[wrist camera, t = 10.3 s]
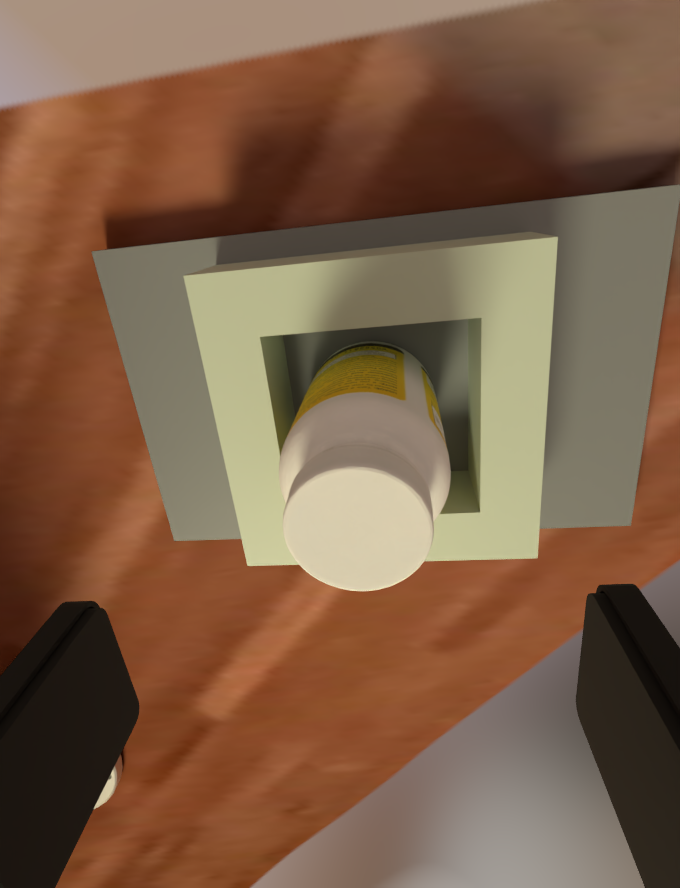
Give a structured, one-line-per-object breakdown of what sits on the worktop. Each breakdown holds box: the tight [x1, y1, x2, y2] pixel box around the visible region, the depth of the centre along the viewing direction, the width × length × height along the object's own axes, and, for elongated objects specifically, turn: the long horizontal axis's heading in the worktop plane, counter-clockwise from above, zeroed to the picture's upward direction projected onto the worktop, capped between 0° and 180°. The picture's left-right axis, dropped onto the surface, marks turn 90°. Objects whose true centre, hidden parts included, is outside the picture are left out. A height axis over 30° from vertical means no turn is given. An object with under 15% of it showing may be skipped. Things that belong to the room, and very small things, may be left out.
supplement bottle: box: [279, 341, 451, 591], centre depth 18 cm, size 5×5×10 cm
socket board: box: [92, 185, 680, 566], centre depth 21 cm, size 22×14×5 cm, turn 96°
